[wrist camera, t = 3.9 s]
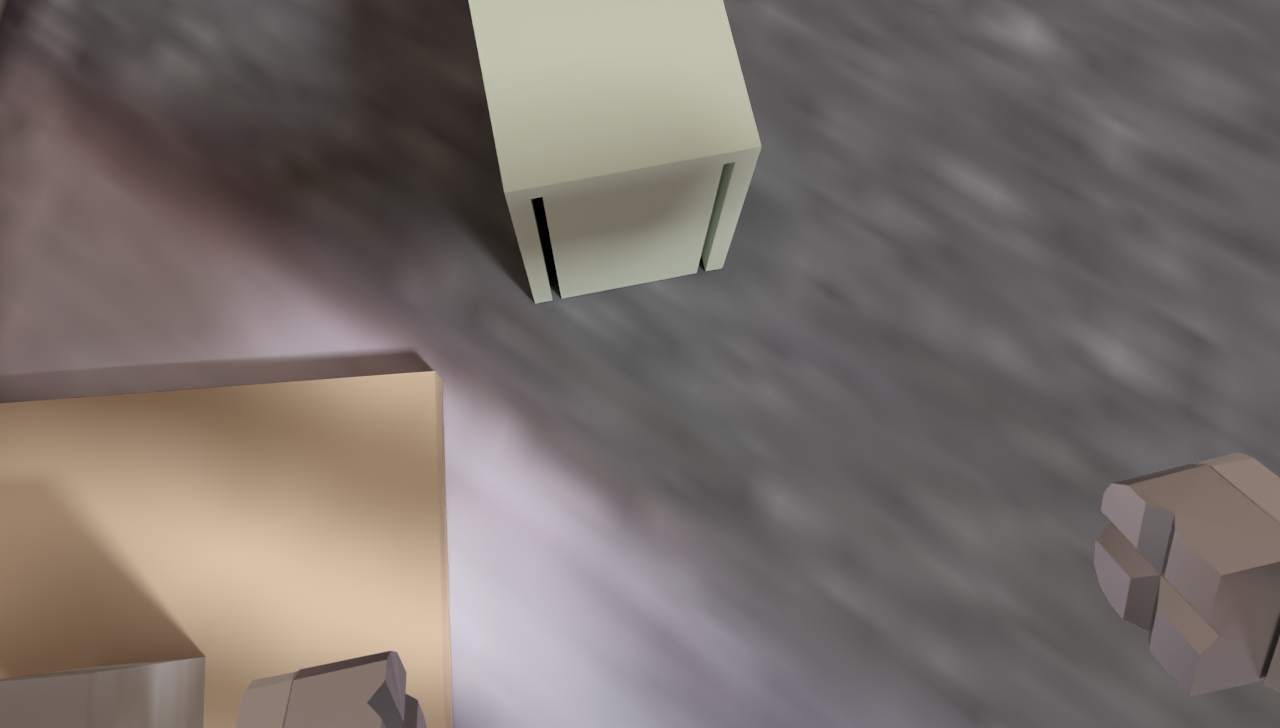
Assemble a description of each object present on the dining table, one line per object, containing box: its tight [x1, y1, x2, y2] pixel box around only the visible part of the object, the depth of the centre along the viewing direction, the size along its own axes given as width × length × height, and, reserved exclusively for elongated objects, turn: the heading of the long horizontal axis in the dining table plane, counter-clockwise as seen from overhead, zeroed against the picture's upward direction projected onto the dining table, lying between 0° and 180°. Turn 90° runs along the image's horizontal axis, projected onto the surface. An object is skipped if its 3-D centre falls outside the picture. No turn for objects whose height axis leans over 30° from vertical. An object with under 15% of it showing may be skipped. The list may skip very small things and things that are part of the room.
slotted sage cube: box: [468, 0, 761, 304], centre depth 23 cm, size 5×5×7 cm
